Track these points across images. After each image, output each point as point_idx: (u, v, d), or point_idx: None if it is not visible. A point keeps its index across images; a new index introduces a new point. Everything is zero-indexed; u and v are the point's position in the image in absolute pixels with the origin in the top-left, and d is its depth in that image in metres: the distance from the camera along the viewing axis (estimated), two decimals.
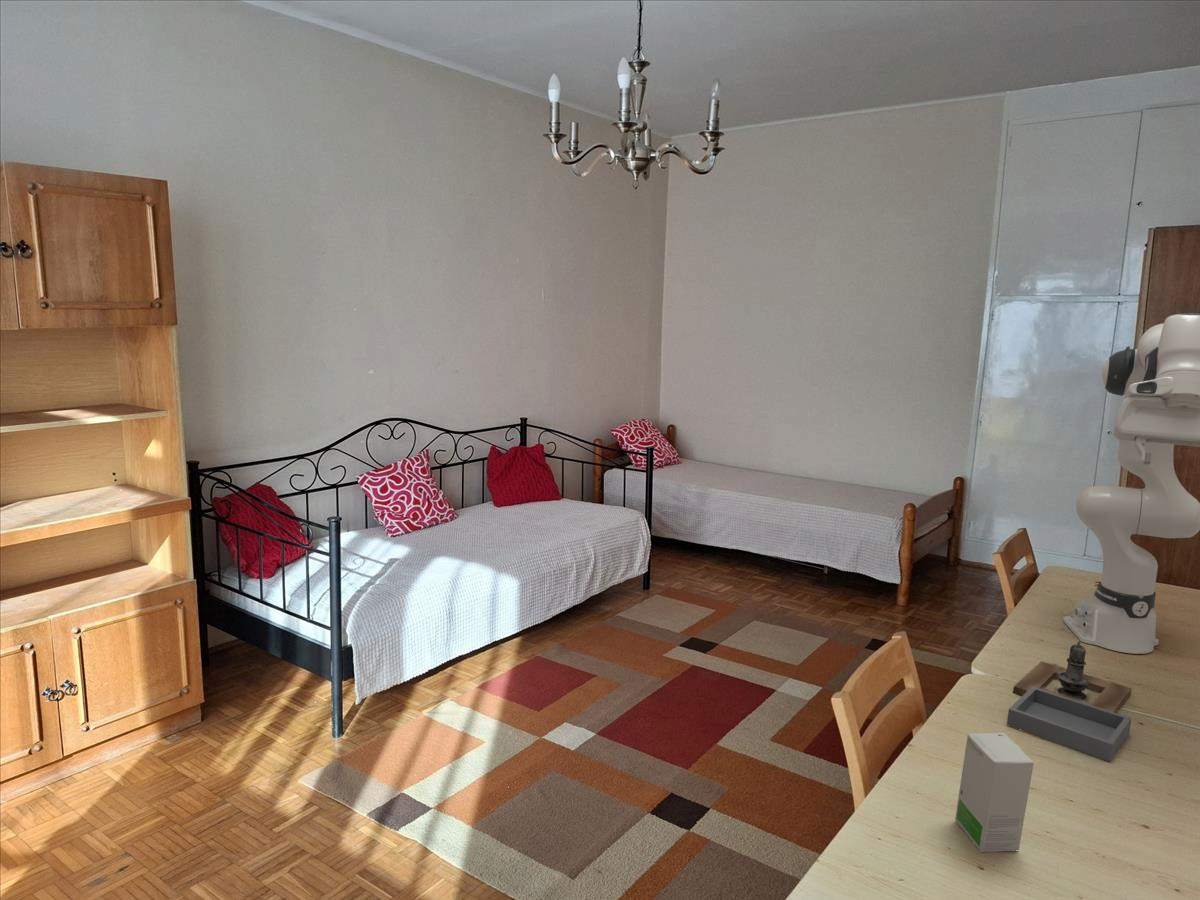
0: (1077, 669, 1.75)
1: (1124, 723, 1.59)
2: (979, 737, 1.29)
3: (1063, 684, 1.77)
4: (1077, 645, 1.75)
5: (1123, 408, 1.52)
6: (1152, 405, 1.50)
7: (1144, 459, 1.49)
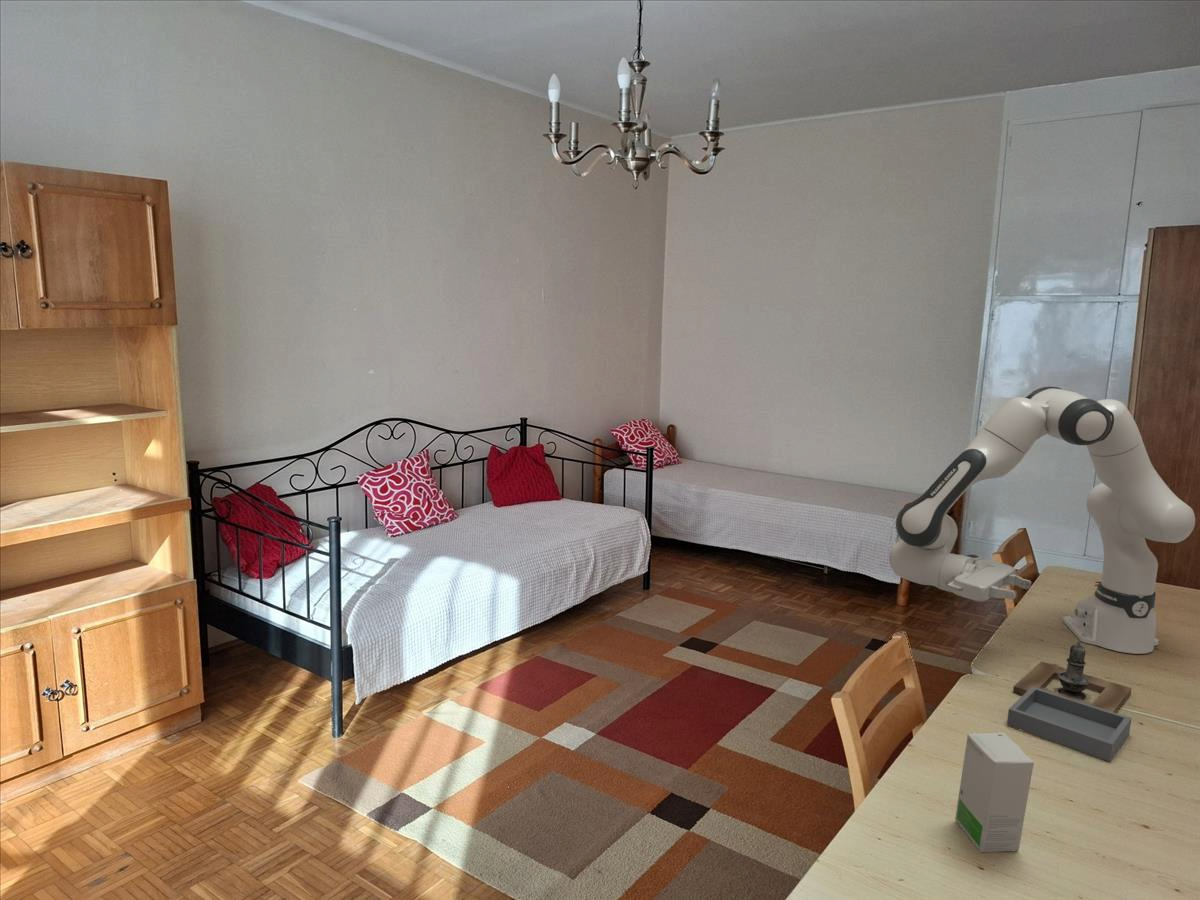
0: (1077, 669, 1.75)
1: (1124, 723, 1.59)
2: (979, 737, 1.29)
3: (1063, 684, 1.77)
4: (1077, 645, 1.75)
5: None
6: None
7: None
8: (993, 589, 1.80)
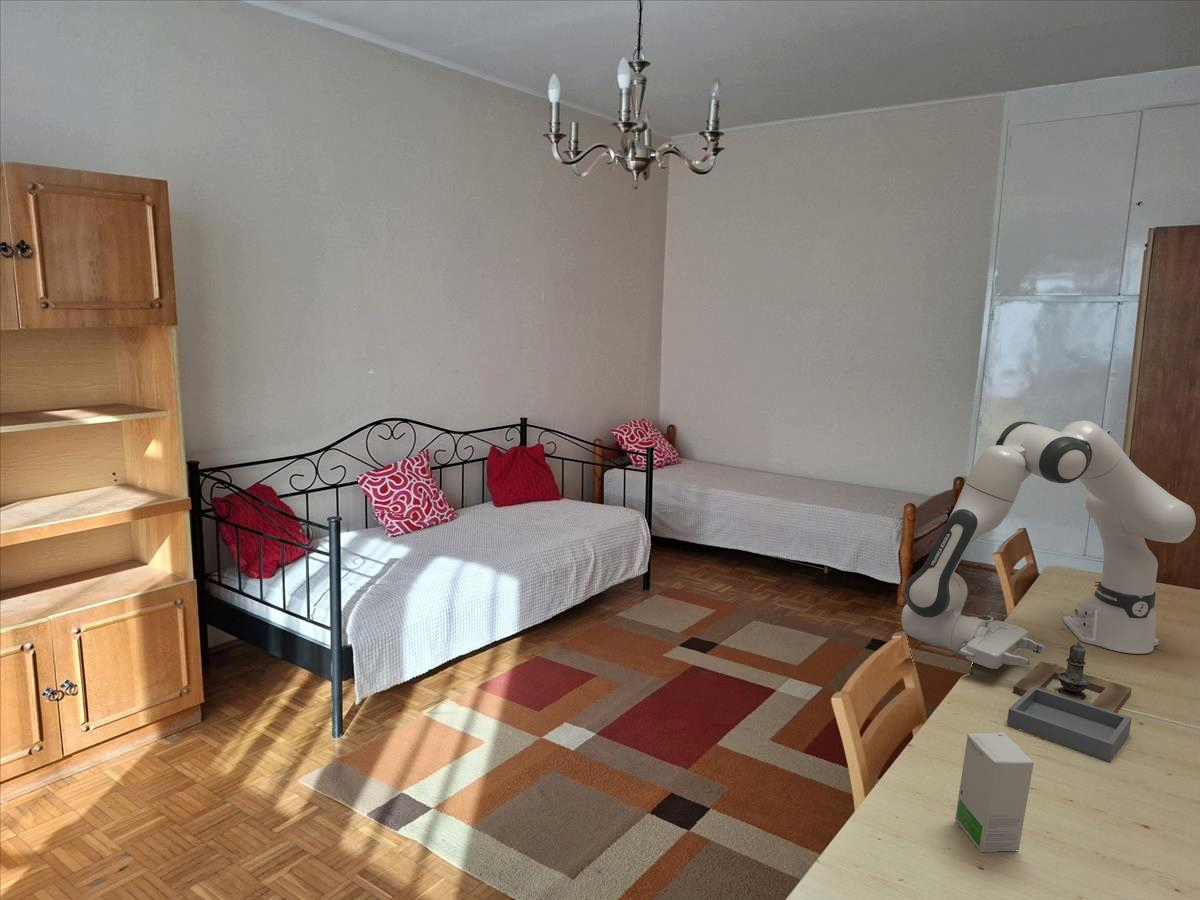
0: (1077, 669, 1.75)
1: (1124, 723, 1.59)
2: (979, 737, 1.29)
3: (1063, 684, 1.77)
4: (1077, 645, 1.75)
5: None
6: None
7: None
8: (1006, 656, 1.80)
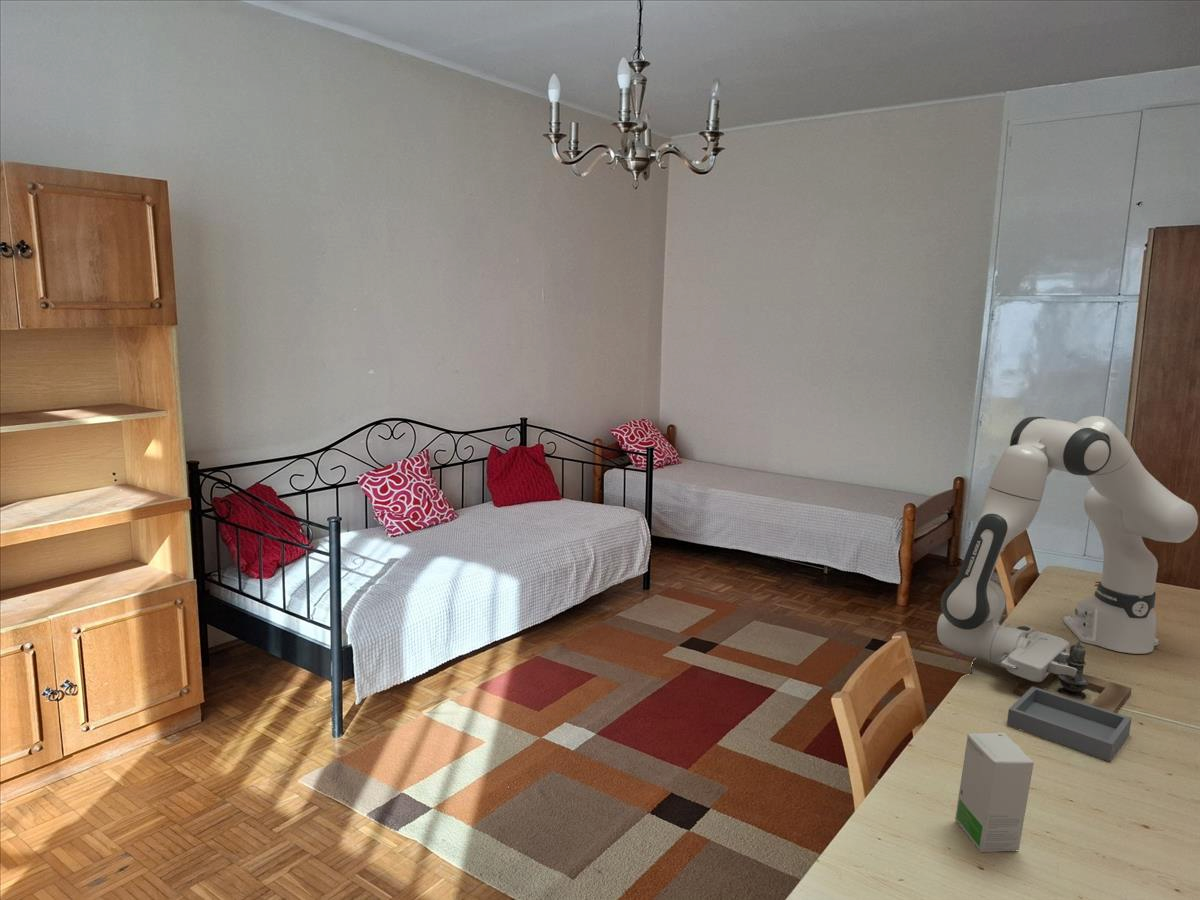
0: None
1: (1124, 723, 1.59)
2: (979, 737, 1.29)
3: (1063, 684, 1.77)
4: (1077, 645, 1.75)
5: None
6: None
7: None
8: (1053, 665, 1.76)
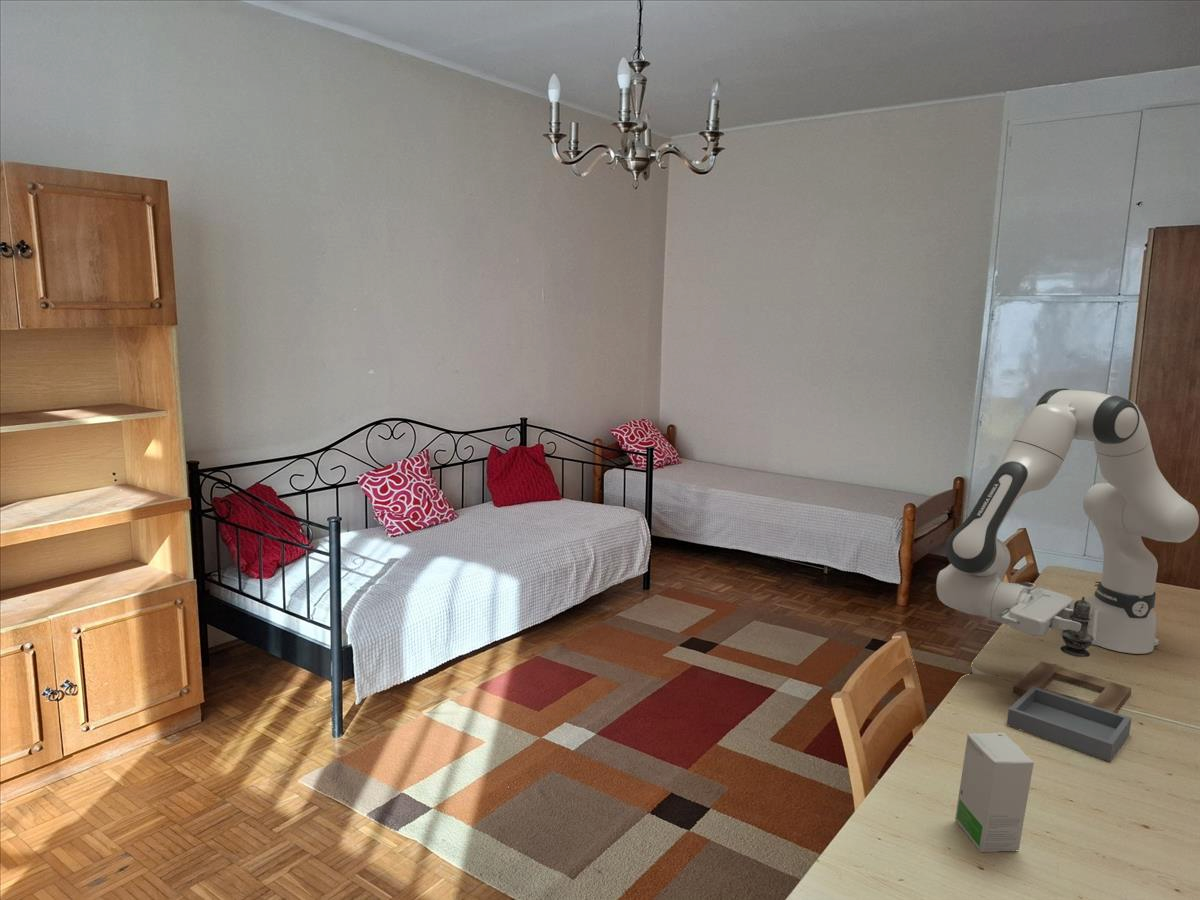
0: None
1: (1124, 723, 1.59)
2: (979, 737, 1.29)
3: (1066, 641, 1.69)
4: (1081, 601, 1.68)
5: None
6: None
7: None
8: (1057, 620, 1.68)
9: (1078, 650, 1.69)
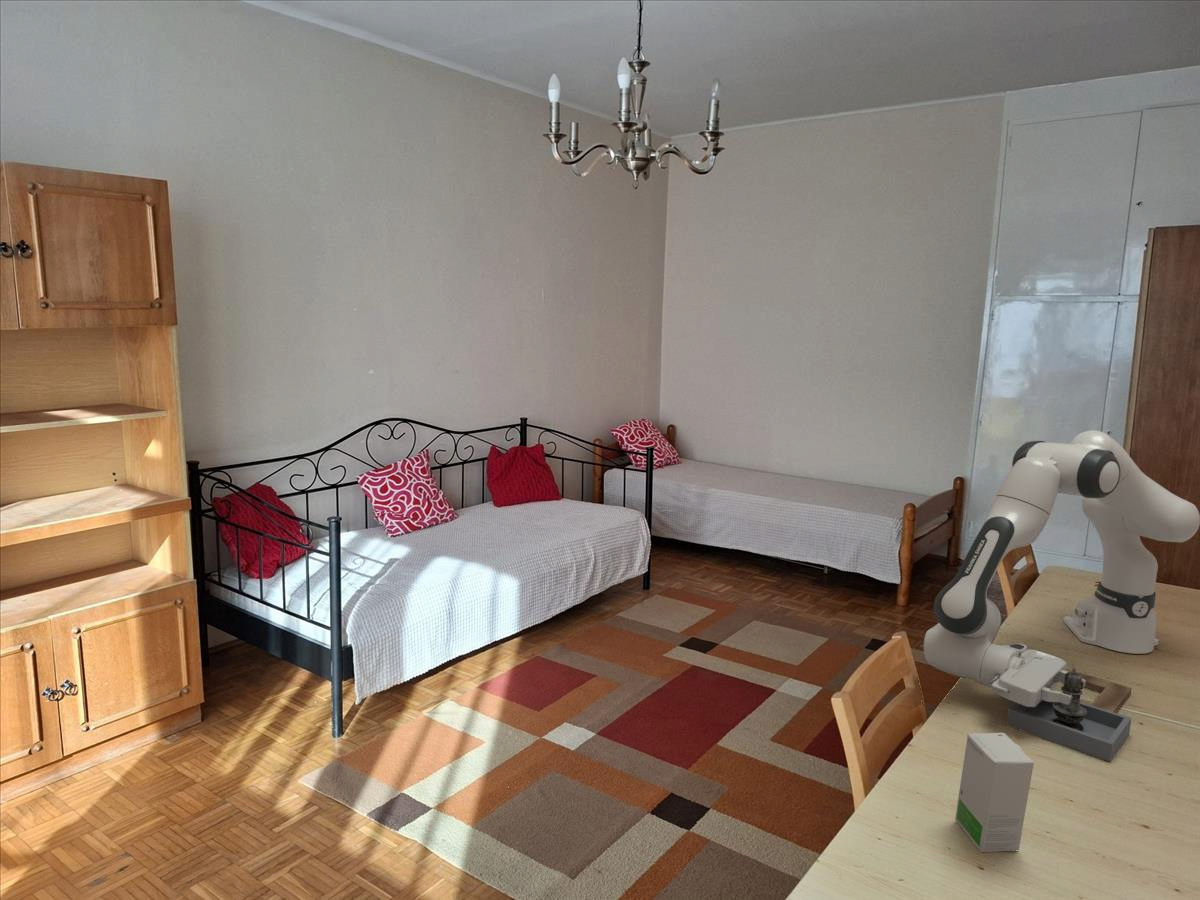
0: (1073, 698, 1.60)
1: (1124, 723, 1.59)
2: (979, 737, 1.29)
3: (1058, 715, 1.62)
4: (1072, 673, 1.60)
5: None
6: None
7: None
8: (1045, 692, 1.59)
9: (1071, 724, 1.62)
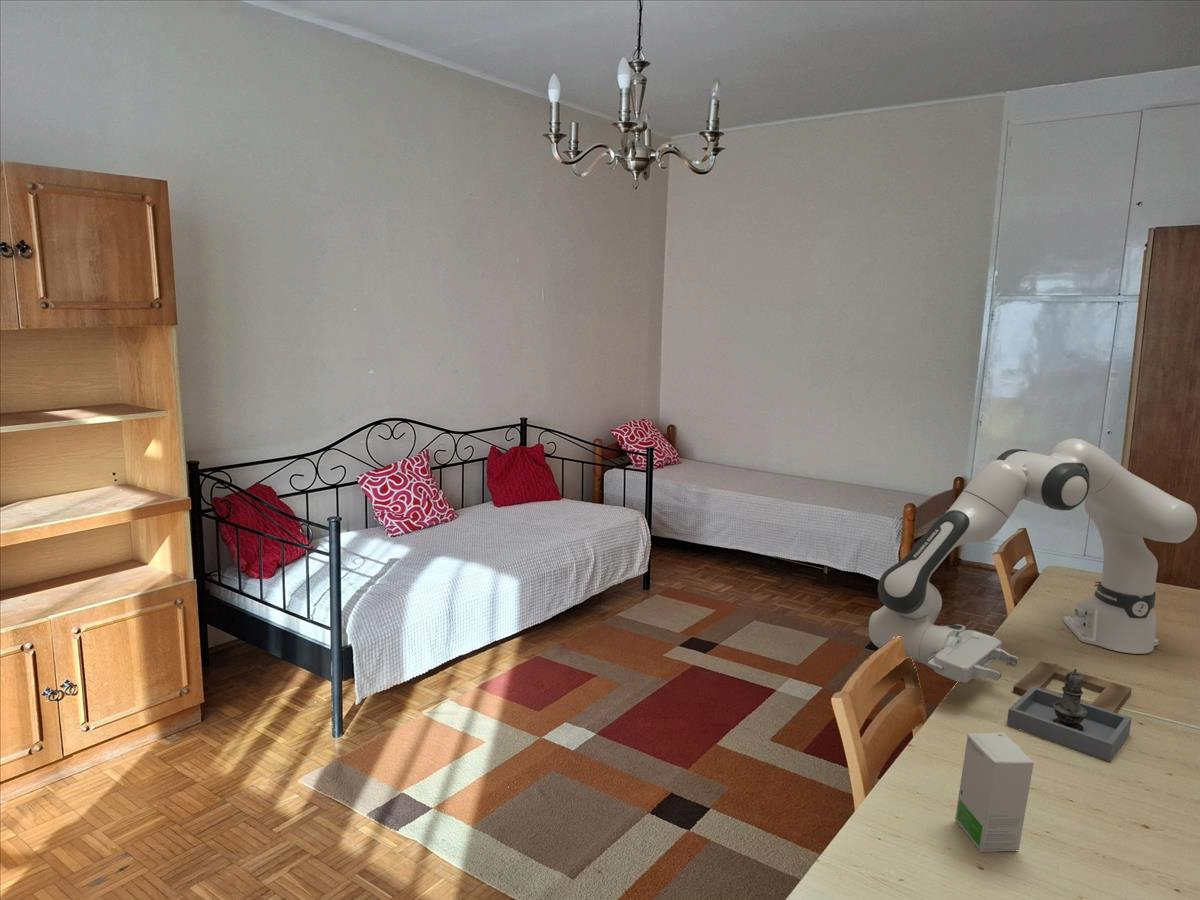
0: (1074, 699, 1.60)
1: (1124, 723, 1.59)
2: (979, 737, 1.29)
3: (1058, 715, 1.62)
4: (1073, 673, 1.60)
5: None
6: None
7: None
8: (976, 669, 1.68)
9: (1071, 724, 1.62)
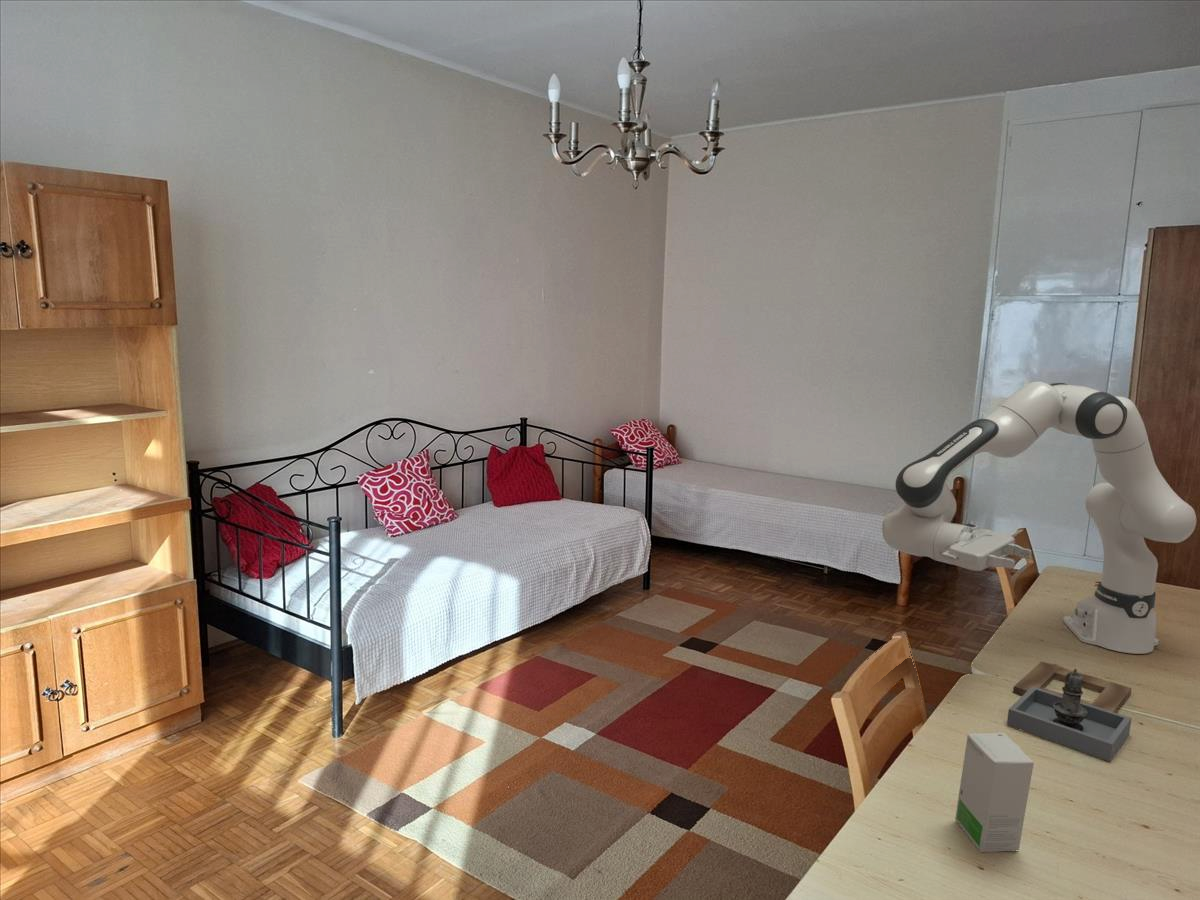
0: (1074, 699, 1.60)
1: (1124, 723, 1.59)
2: (979, 737, 1.29)
3: (1058, 715, 1.62)
4: (1073, 673, 1.60)
5: None
6: None
7: None
8: (990, 558, 1.70)
9: (1071, 724, 1.62)
